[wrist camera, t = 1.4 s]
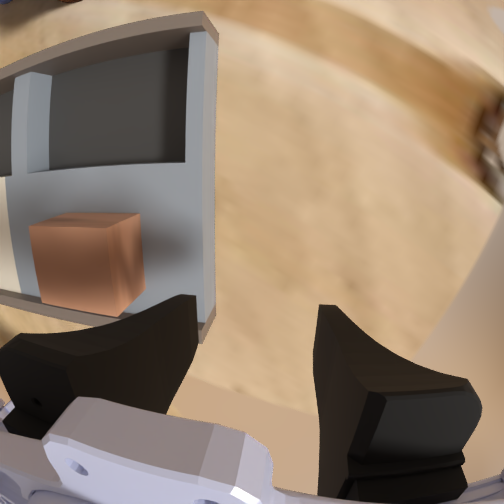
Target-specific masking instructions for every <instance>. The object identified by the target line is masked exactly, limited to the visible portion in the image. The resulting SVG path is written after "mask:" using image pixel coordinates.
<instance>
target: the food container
mask: <svg viewBox="0 0 504 504" xmlns="http://www.w3.org/2000/svg"><path fill="white" fill-rule="evenodd" d="M59 1H62V2H65V3H75V2H79V1H82V0H59Z"/></svg>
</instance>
